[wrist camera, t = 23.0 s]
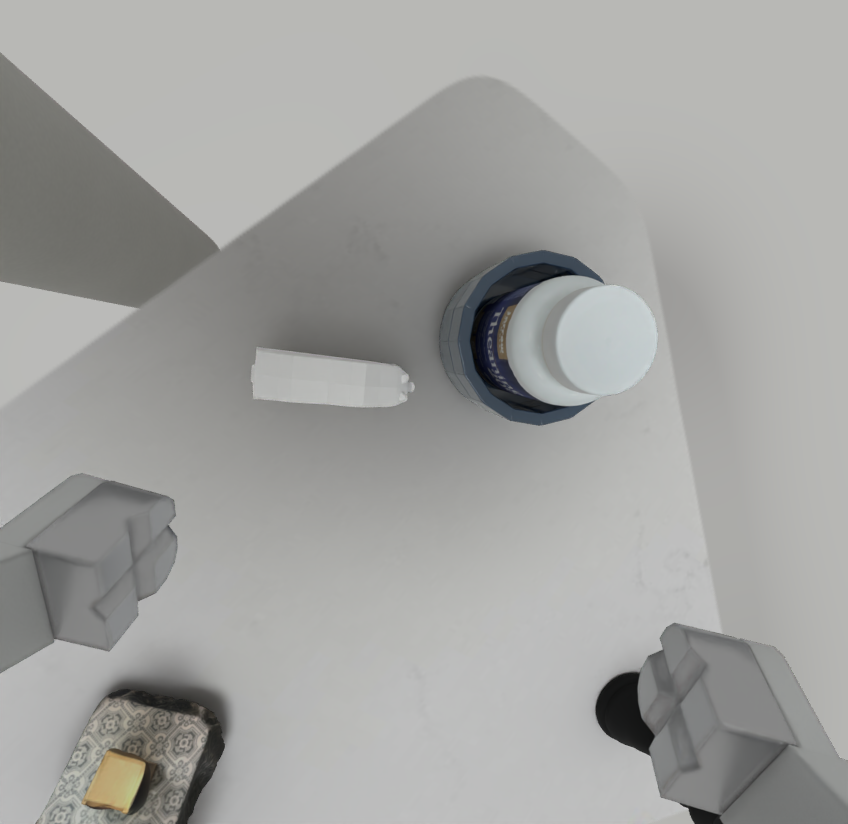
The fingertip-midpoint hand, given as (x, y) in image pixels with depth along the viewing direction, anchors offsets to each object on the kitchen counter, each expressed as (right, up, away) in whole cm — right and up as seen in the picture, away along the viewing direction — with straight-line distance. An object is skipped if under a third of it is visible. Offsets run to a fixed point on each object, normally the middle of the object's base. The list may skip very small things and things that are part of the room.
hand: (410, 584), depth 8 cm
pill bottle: (+5, +7, +20) cm, 21 cm away
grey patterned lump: (-15, -17, +20) cm, 30 cm away
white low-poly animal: (-5, +5, +19) cm, 20 cm away
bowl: (+5, +7, +20) cm, 22 cm away
